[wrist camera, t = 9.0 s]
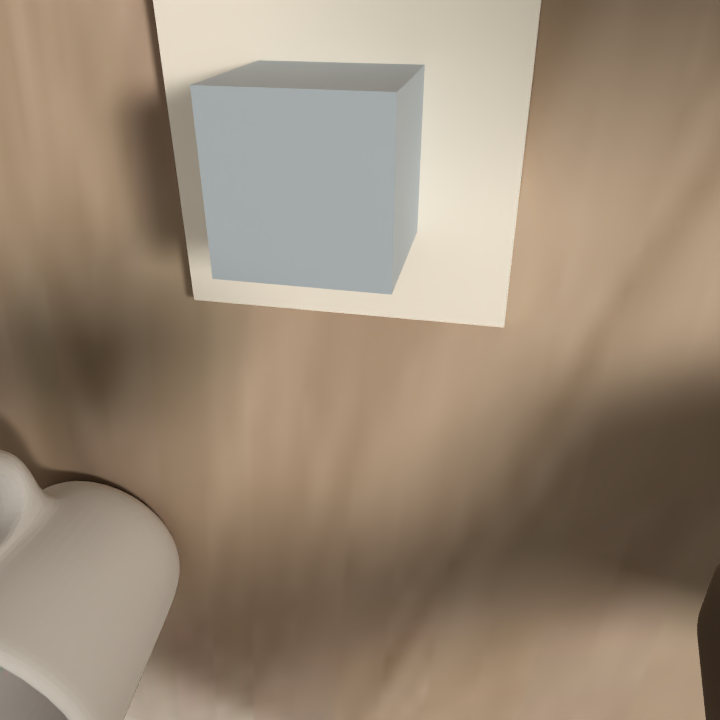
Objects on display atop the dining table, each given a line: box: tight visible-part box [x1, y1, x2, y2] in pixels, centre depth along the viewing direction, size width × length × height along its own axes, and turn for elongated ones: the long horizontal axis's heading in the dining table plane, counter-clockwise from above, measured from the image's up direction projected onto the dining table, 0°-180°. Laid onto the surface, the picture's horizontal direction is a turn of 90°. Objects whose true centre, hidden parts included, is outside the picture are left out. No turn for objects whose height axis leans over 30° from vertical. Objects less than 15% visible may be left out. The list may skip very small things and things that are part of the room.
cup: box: [0, 450, 180, 720], centre depth 23 cm, size 11×8×8 cm
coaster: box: [153, 0, 541, 327], centre depth 17 cm, size 9×9×1 cm
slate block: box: [190, 60, 425, 295], centre depth 15 cm, size 4×4×4 cm
